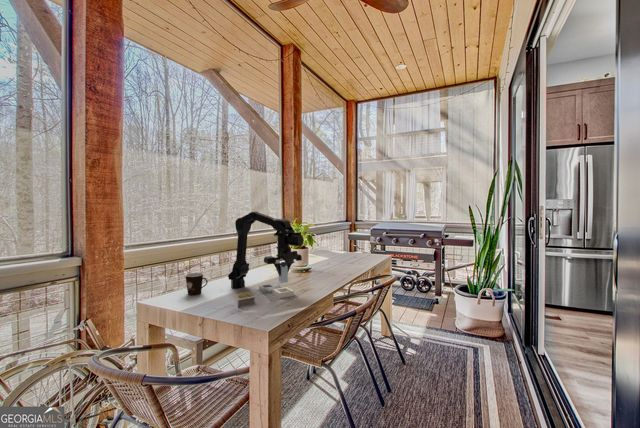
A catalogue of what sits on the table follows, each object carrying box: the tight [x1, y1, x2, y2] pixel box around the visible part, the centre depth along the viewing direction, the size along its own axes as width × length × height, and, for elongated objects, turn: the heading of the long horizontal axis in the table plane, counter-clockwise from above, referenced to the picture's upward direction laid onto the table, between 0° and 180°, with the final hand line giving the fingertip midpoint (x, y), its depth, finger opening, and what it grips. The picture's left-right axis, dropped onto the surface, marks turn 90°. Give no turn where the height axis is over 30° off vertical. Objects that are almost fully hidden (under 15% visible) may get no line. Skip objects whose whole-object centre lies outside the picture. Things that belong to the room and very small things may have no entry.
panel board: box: [255, 285, 299, 302], centre depth 157 cm, size 14×22×1 cm, turn 33°
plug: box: [278, 261, 289, 284], centre depth 154 cm, size 3×3×10 cm
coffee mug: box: [184, 272, 209, 297], centre depth 158 cm, size 12×9×10 cm
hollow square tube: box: [258, 283, 276, 293], centre depth 160 cm, size 6×6×2 cm
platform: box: [235, 291, 258, 309], centre depth 141 cm, size 12×18×7 cm, turn 126°
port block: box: [273, 286, 295, 298], centre depth 154 cm, size 8×8×3 cm
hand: (283, 275), depth 154 cm, fingers closed on plug, 3 cm apart
